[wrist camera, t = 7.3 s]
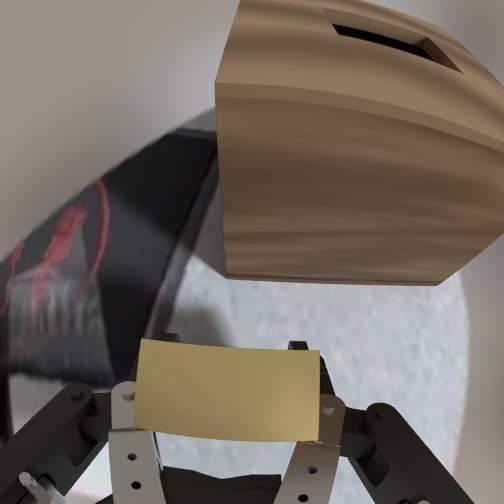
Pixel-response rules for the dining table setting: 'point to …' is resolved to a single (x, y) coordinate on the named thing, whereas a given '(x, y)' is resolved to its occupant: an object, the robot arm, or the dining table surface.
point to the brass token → (227, 392)
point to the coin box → (354, 146)
